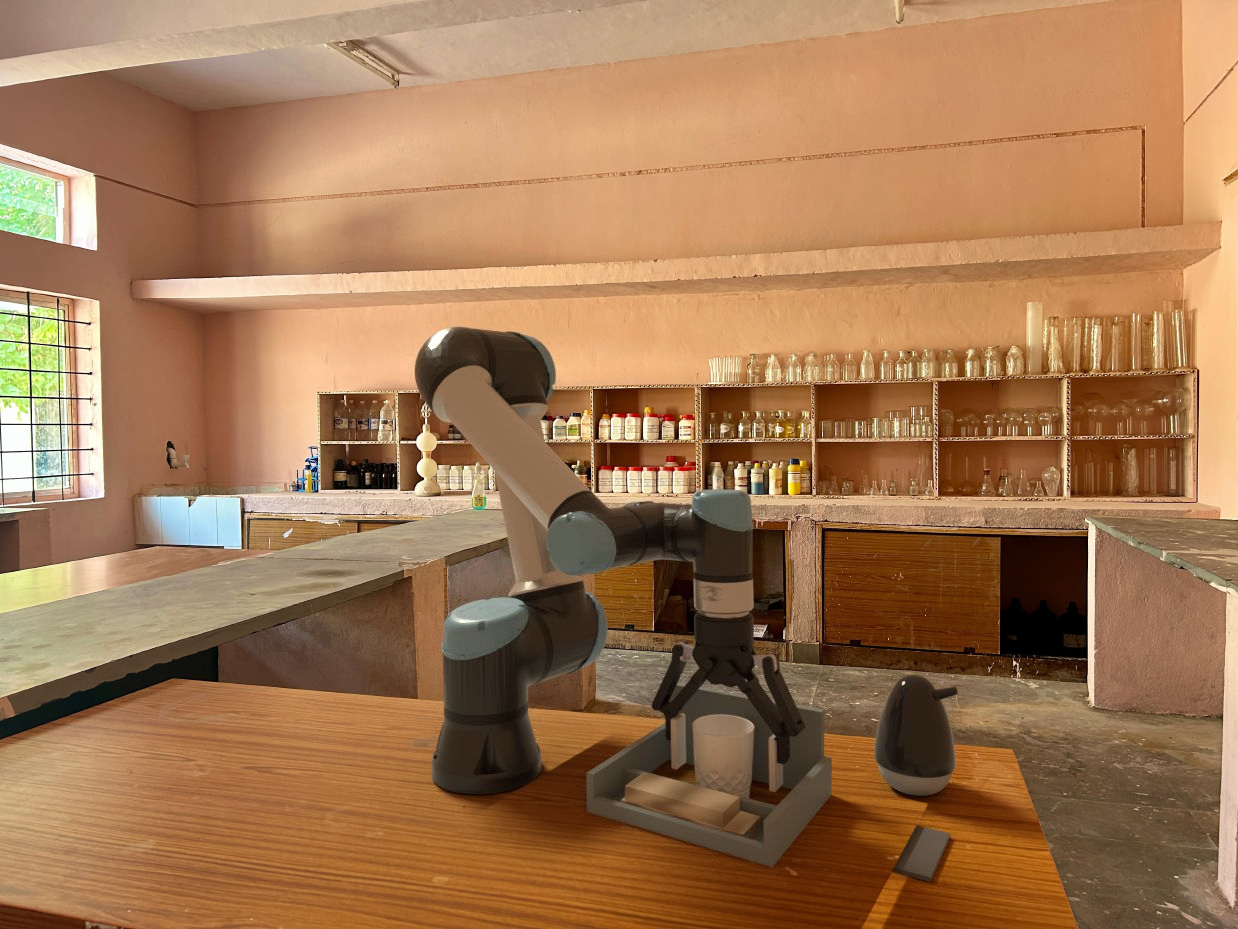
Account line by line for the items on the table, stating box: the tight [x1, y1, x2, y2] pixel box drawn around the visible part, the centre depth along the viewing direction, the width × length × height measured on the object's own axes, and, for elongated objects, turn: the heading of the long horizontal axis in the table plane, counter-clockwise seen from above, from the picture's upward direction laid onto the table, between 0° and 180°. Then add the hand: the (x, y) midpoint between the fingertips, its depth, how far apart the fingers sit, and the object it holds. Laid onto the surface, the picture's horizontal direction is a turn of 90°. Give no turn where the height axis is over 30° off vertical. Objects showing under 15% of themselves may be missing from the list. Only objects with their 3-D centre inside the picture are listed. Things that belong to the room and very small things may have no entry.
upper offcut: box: [625, 772, 740, 828], centre depth 97 cm, size 13×5×2 cm, turn 58°
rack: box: [585, 682, 833, 868], centre depth 102 cm, size 24×20×12 cm
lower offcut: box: [621, 797, 761, 840], centre depth 97 cm, size 16×5×2 cm, turn 58°
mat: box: [891, 824, 951, 883], centre depth 94 cm, size 11×11×1 cm
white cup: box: [692, 715, 754, 799], centre depth 105 cm, size 8×8×10 cm
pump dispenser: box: [873, 673, 959, 797], centre depth 108 cm, size 10×10×15 cm
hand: (725, 776), depth 105 cm, fingers open, 13 cm apart
